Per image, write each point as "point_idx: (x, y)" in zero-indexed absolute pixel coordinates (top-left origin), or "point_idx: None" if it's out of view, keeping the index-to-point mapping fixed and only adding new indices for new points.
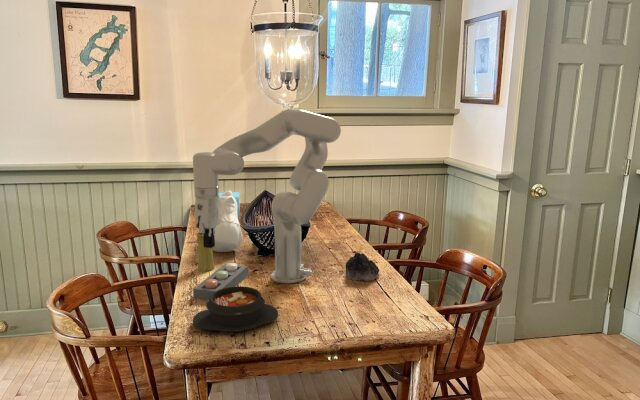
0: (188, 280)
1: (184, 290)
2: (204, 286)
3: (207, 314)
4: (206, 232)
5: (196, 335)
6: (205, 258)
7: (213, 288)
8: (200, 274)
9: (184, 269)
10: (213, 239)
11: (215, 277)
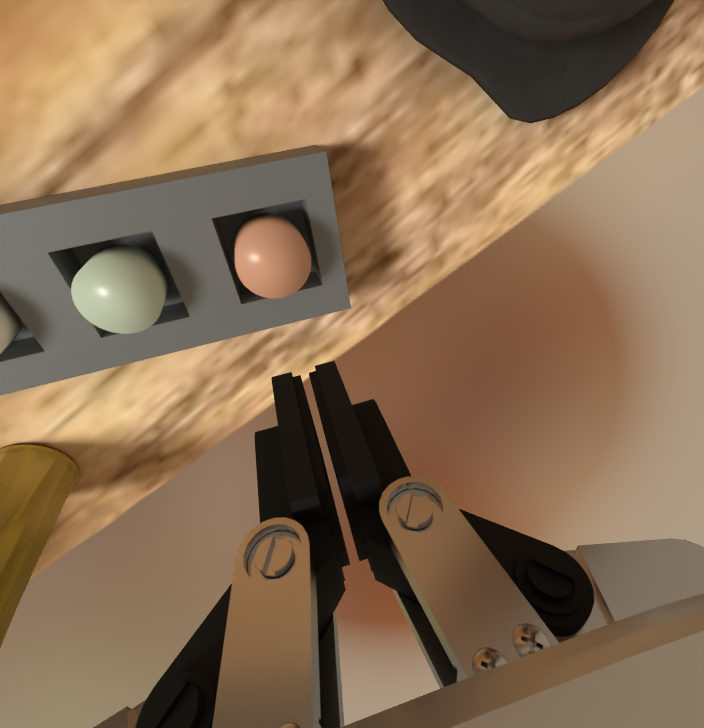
0: (196, 431)
1: None
2: None
3: (547, 45)
4: (558, 555)
5: None
6: (28, 507)
7: (288, 222)
8: (108, 442)
9: (121, 513)
10: (309, 439)
11: None
